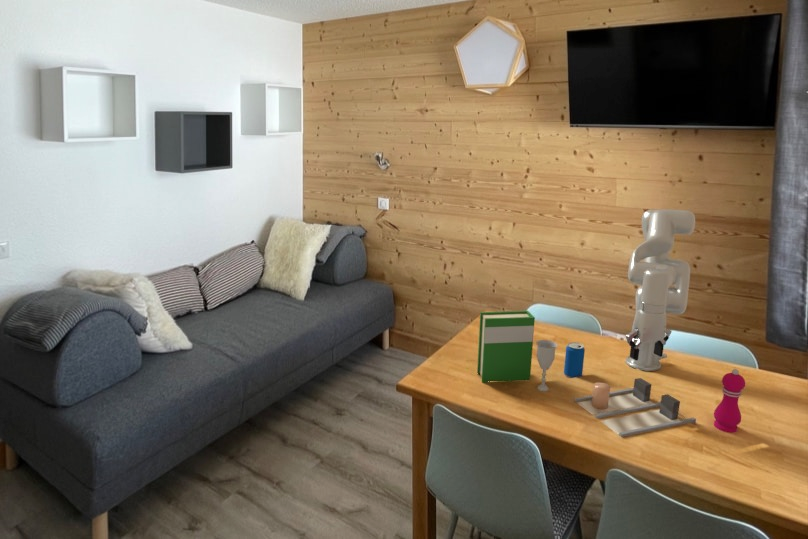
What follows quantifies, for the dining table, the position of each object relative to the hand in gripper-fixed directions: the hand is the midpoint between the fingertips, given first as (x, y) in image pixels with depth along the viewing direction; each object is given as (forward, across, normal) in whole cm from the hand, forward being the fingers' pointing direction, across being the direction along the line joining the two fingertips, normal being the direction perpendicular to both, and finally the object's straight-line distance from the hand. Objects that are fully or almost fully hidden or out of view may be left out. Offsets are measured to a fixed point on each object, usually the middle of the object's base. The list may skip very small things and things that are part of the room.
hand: (645, 356), depth 181 cm
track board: (+16, +8, +6) cm, 19 cm away
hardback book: (+17, +34, -31) cm, 49 cm away
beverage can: (+16, +9, -24) cm, 31 cm away
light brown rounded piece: (+15, +16, 0) cm, 22 cm away
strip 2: (+16, +10, +12) cm, 22 cm away
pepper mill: (+17, -13, +22) cm, 30 cm away
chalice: (+16, +27, -16) cm, 36 cm away
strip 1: (+16, +10, 0) cm, 19 cm away
